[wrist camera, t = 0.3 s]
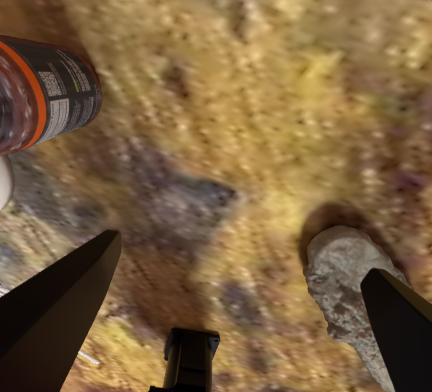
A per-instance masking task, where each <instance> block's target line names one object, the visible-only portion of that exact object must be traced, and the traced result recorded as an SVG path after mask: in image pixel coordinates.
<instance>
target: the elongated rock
mask: <svg viewBox="0 0 432 392" xmlns="http://www.w3.org/2000/svg"><path fill="white" fill-rule="evenodd" d="M307 256H308V260H309V264H308V266H304V269H303V275H304V276H305V277H306V283H307V285H308V293H309V294H310V295H311V296H312V297H313V298H314V299H316V303H317V304H318V305H319V307H320V310H321V311H323V312H324V317H325V320H326V321H327V322H328V327H327V332H328V335H329V336H330V337H331V338H332V339H333V340H335V341H337V342H346V343H348V344H349V345H350V346H352V347H354V348H355V350H356V352H357V354H358V355H359V357H360V359H361V360H362V362H363V364H364V366H365V367H366V369H368V371H369V373H370V374H371V376H373V377H374V378H375V380H376V381H377V382H378V383H379V384H380V386H381V388H382V389H383V390H387V391H388V392H395V390H394V387H393V385H392V382H391V379H390V377H389V374H388V371H387V369H386V366H385V364H384V361H383V358H382V356H381V353H380V350H379V348H378V345H377V343H376V340H375V337H374V335H373V332H372V329H371V325H370V322H369V318H368V315H367V311H366V308H365V304H364V300H363V297H362V293H361V290H360V283H361V281H362V280H363V278H364V277H365V275H366V274H367V273H368V271H369V270H370V269H371V268H379V269H384V270H386V271H388V272H389V273H390V274H392V275H393V276H394V277H396V278H397V279H398V280H400V281H401V282H402V283H404V284H405V285H406V286H408V287H409V288H410V289H412V286H411V285H410V284H409V283H407V281H406V278H405V277H404V274H403V273H402V272H401V271H400V270H399V269H397V268H396V267H394V266H393V264H392V261H391V258H390V257H389V256H388V255H387V254H386V253H385V252H384V251H383V249H382V248H381V247H380V246H379V245H376V244H375V243H373V241H372V240H371V238H370V236H369V235H367V234H366V233H364V232H362V231H360V230H357V229H356V228H351V227H347V226H345V225H336V226H334V227H331V228H328V229H326V230H324V231H322V232H320V233H319V234H317V235H316V236H315V238H314V239H312V240H311V243H310V244H309V245H308V246H307Z"/></svg>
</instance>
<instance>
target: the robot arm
mask: <svg viewBox="0 0 432 392" xmlns="http://www.w3.org/2000/svg"><path fill="white" fill-rule="evenodd" d="M120 254H121V234H120V232H119V231H117V230H110V229H108V230H105V231H104V232H102V233H101V234H99V235H97V236H96V237H94V238H93V239H91V240H90V241H88V242H86V243H85V244H83V245H82V246H80V247H79V248H77V249H75V250H74V251H72V252H71V253H69V254H67V255H66V256H64V257H63V258H61V259H60V260H58V261H56V262H55V263H53V264H52V265H50V266H49V267H47V268H45V269H44V270H42V271H41V272H39V273H38V274H36V275H34V276H33V277H31V278H30V279H28V280H26V281H25V282H23V283H22V284H20V285H19V286H17V287H15V288H14V289H12V290H11V291H9V292H8V293H6V294H4V295H3V296H1V297H0V392H60V390H61V387H62V385H63V383H64V381H65V379H66V377H67V375H68V373H69V371H70V369H71V367H72V365H73V363H74V361H75V359H76V357H77V355H78V352H79V350H80V348H81V346H82V344H83V342H84V340H85V338H86V336H87V334H88V332H89V330H90V328H91V326H92V324H93V322H94V320H95V317H96V315H97V313H98V311H99V309H100V307H101V305H102V303H103V301H104V299H105V296H106V294H107V291H108V288H109V285H110V283H111V280H112V277H113V274H114V271H115V269H116V266H117V263H118V260H119V257H120ZM360 290H361V293H362V297H363V300H364V304H365V308H366V311H367V315H368V318H369V322H370V325H371V329H372V332H373V335H374V337H375V340H376V343H377V345H378V348H379V350H380V353H381V356H382V358H383V361H384V364H385V366H386V369H387V371H388V374H389V377H390V379H391V382H392V385H393V387H394V390H395V392H432V304H431V303H429V302H428V301H427V300H425V299H424V298H423V297H421V296H420V295H419V294H417V293H416V292H414V291H413V290H412V289H410V288H409V287H408V286H406V285H405V284H404V283H402V282H401V281H400V280H398V279H397V278H396V277H394V276H393V275H392V274H390V273H389V272H388V271H386V270H384V269H379V268H371V269H370V270H369V271H368V273H367V274H366V275H365V277H364V278H363V280H362V281H361V283H360ZM219 342H220V337H219V336H218V335H212V334H207V333H201V332H195V331H189V330H183V329H178V328H173V329H172V330H171V333H170V337H169V341H168V345H167V349H166V353H165V357H164V359H165V360H166V361H168V362H167V367H166V373H165V378H164V384H163V388H160V387H155V386H150V389H149V391H148V392H212V360H213V357H214V355H215V352H216V350H217V347H218V345H219Z"/></svg>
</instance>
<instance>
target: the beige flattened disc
mask: <svg viewBox="0 0 432 392" xmlns="http://www.w3.org/2000/svg"><path fill="white" fill-rule="evenodd" d="M13 191H14V176H13V171H12V167H11V164H10V161H9V159H8V157H7V155H0V212H1V211H2V210H3V209H4V208H5V207H6V206H7V205H8V203H9V202H10V200H11V198H12V195H13Z"/></svg>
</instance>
